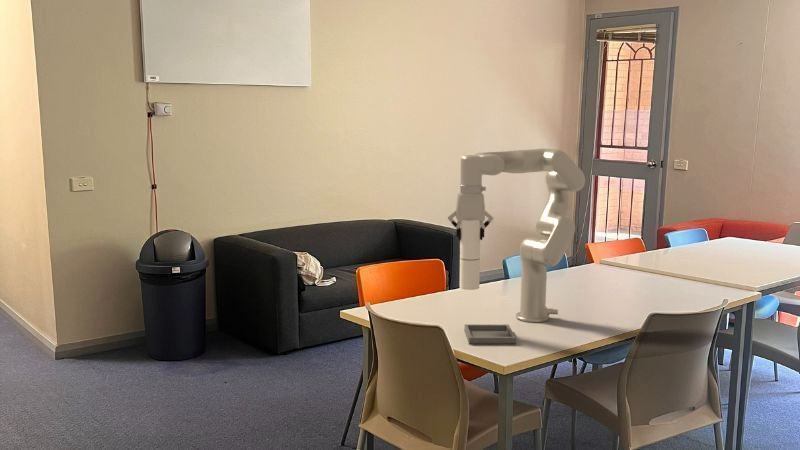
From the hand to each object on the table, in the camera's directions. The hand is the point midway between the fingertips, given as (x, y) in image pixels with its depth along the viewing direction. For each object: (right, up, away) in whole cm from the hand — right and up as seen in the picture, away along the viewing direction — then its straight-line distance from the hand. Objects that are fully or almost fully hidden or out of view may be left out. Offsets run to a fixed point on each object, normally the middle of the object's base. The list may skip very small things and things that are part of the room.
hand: (470, 239), depth 268 cm
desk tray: (+6, -35, -4) cm, 36 cm away
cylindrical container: (0, -18, +3) cm, 18 cm away
